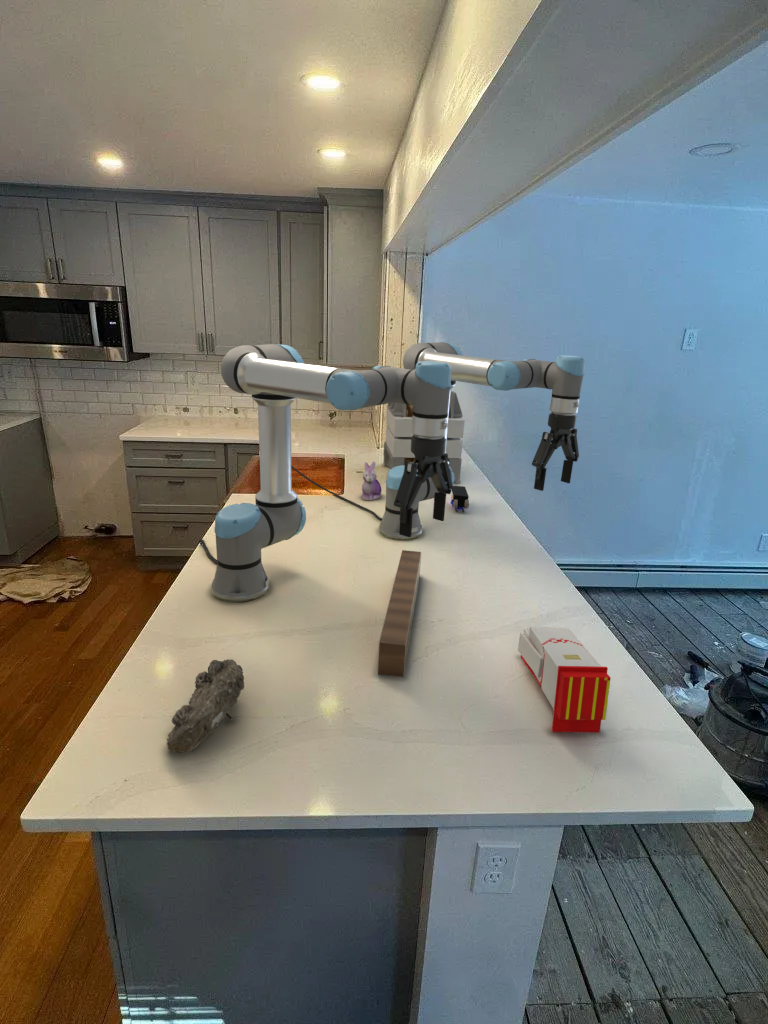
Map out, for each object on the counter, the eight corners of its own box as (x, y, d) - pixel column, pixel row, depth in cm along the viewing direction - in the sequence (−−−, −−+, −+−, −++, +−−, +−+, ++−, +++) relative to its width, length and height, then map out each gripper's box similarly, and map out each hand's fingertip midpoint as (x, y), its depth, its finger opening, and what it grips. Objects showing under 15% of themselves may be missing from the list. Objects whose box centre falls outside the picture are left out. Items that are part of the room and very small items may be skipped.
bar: (400, 574, 169) (402, 550, 167) (419, 576, 169) (421, 551, 166) (377, 674, 123) (379, 642, 120) (403, 677, 122) (405, 645, 120)
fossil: (192, 660, 117) (244, 628, 112) (224, 691, 120) (276, 661, 115) (142, 746, 98) (202, 712, 93) (182, 779, 101) (242, 748, 96)
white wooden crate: (382, 463, 289) (386, 382, 275) (445, 464, 293) (451, 384, 279) (390, 482, 257) (394, 392, 243) (460, 483, 261) (468, 394, 247)
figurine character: (469, 517, 223) (463, 501, 236) (471, 500, 219) (465, 484, 233) (452, 516, 222) (447, 500, 236) (454, 499, 219) (449, 483, 232)
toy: (564, 611, 133) (619, 673, 103) (558, 664, 135) (611, 739, 106) (512, 610, 132) (554, 672, 103) (508, 663, 135) (547, 738, 106)
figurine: (366, 502, 230) (367, 466, 225) (355, 494, 239) (356, 460, 234) (386, 499, 235) (388, 464, 229) (375, 492, 243) (377, 458, 238)
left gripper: (410, 447, 111) (404, 547, 118) (472, 430, 130) (464, 517, 137) (379, 441, 115) (375, 538, 122) (444, 425, 134) (437, 510, 141)
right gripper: (548, 419, 148) (537, 496, 155) (598, 411, 163) (586, 482, 171) (525, 414, 153) (515, 489, 160) (575, 407, 169) (564, 476, 176)
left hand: (422, 527), depth 130 cm, fingers open, 13 cm apart
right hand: (552, 485), depth 166 cm, fingers open, 13 cm apart
